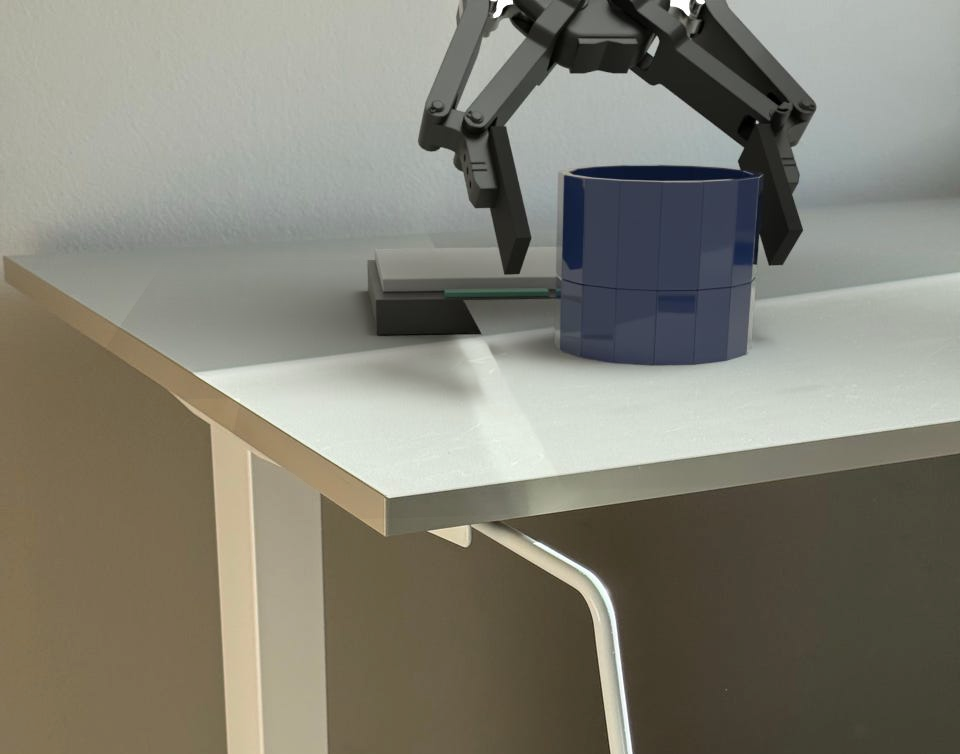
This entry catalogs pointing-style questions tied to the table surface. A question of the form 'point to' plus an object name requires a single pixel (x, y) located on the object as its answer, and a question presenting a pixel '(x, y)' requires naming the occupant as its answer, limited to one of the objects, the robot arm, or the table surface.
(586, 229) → the faceted navy pot
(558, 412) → the table surface
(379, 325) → the scale
